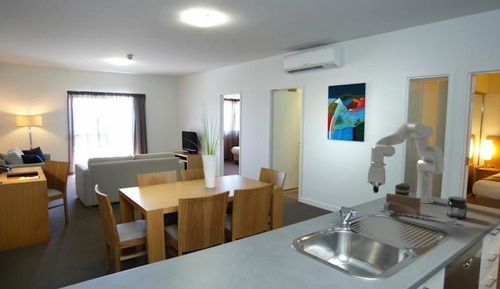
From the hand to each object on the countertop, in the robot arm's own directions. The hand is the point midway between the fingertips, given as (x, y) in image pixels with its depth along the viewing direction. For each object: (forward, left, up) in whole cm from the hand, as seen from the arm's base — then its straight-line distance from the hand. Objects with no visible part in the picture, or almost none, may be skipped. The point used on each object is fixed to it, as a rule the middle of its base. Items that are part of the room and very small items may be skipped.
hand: (375, 192), depth 199 cm
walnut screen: (-3, +15, -12) cm, 20 cm away
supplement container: (-23, +43, -14) cm, 50 cm away
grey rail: (-7, +23, -13) cm, 27 cm away
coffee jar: (-14, +13, -14) cm, 24 cm away
